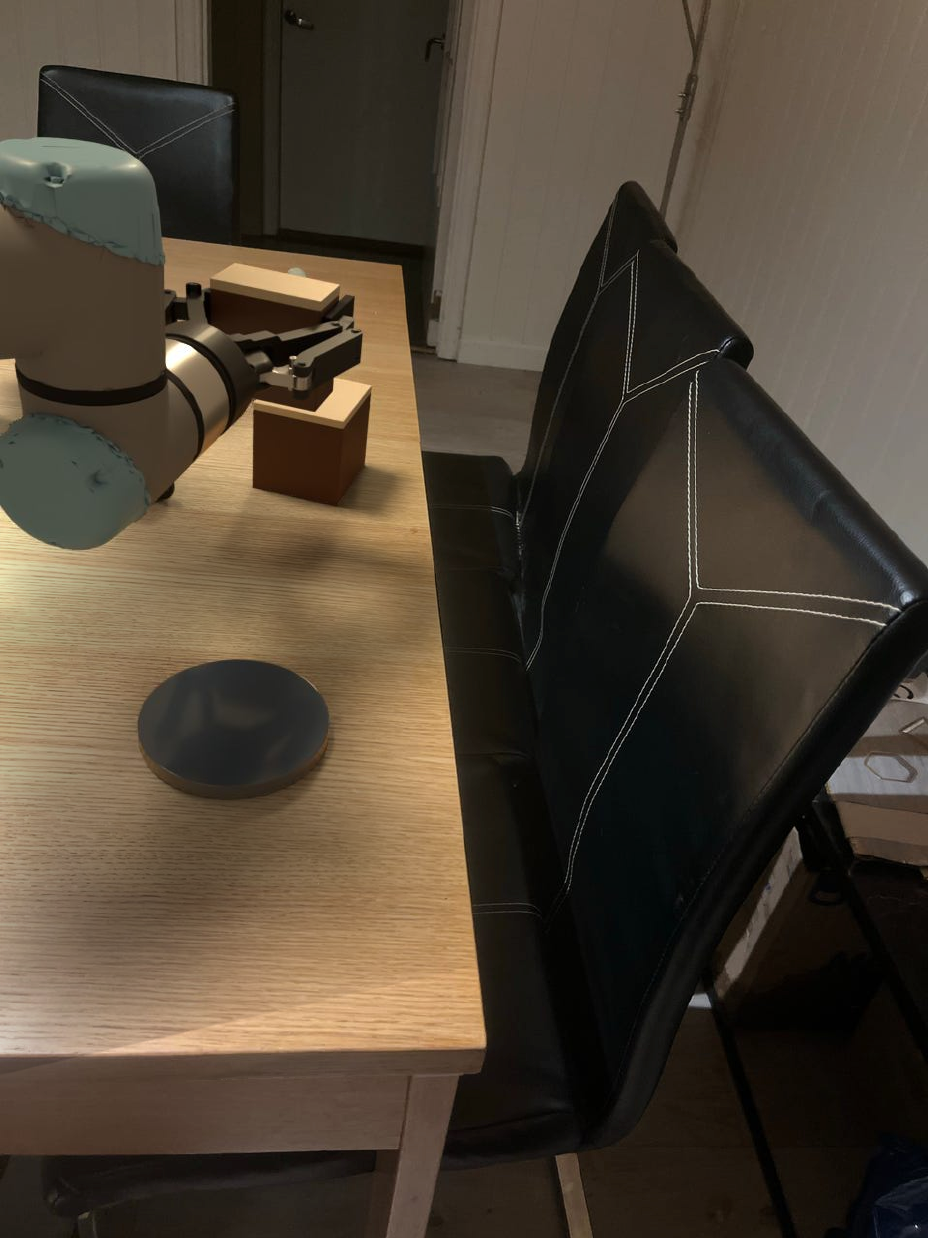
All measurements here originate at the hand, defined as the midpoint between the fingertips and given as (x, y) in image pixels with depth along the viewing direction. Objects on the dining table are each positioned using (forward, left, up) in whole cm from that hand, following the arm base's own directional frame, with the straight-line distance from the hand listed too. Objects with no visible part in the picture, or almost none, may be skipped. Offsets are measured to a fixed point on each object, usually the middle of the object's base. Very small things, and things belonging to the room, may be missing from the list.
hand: (294, 299), depth 77 cm
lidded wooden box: (-7, +4, -21) cm, 22 cm away
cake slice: (+4, -2, -7) cm, 8 cm away
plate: (+30, -9, -21) cm, 38 cm away
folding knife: (-4, -15, -21) cm, 26 cm away
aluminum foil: (-58, +11, -21) cm, 63 cm away
